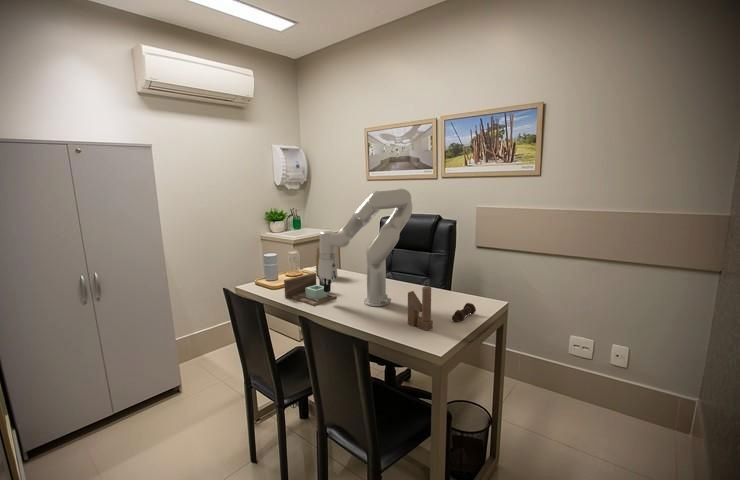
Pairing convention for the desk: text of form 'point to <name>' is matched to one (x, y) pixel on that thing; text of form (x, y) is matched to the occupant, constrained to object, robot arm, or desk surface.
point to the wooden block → (420, 309)
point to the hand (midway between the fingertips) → (327, 291)
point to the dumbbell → (464, 312)
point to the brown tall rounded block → (317, 260)
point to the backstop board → (303, 289)
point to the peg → (321, 282)
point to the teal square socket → (316, 292)
